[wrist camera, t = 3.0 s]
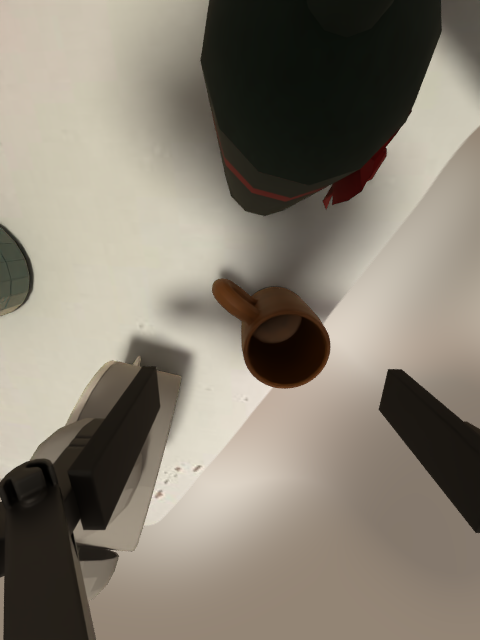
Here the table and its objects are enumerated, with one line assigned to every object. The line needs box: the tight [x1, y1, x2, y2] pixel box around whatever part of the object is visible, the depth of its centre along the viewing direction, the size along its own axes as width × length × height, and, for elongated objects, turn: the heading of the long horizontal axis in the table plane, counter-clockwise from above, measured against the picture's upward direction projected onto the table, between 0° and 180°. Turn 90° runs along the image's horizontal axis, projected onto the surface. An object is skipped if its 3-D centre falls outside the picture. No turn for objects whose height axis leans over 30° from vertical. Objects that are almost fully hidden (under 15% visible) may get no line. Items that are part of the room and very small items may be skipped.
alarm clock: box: [30, 356, 181, 602], centre depth 23 cm, size 16×9×22 cm, turn 162°
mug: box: [212, 278, 330, 388], centre depth 25 cm, size 12×8×9 cm, turn 49°
